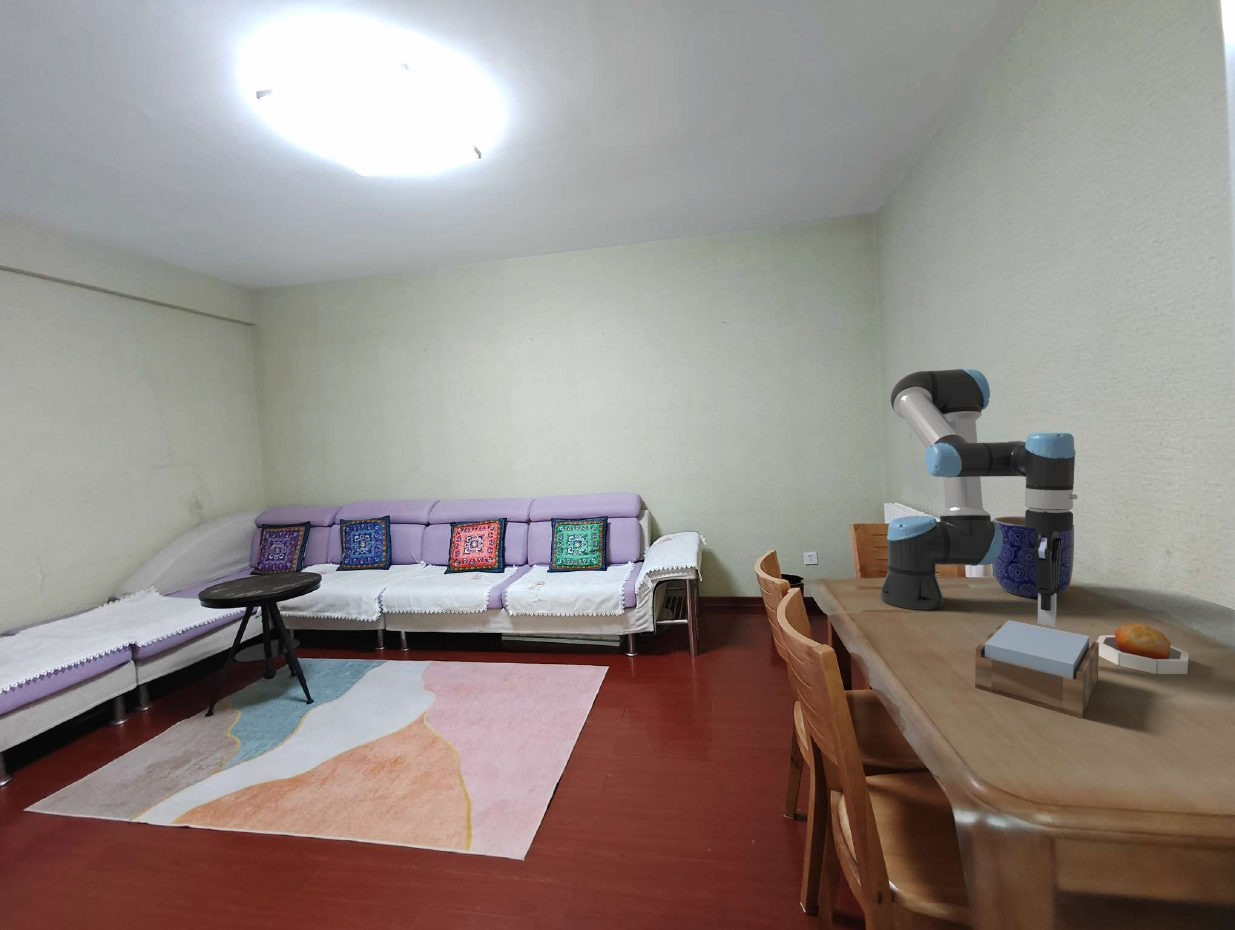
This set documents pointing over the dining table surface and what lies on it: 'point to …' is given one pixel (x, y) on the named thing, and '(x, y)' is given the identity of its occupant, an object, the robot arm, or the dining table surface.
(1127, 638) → the fruit
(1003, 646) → the lid
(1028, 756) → the dining table surface
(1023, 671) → the box
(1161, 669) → the fruit ring
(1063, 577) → the planter
